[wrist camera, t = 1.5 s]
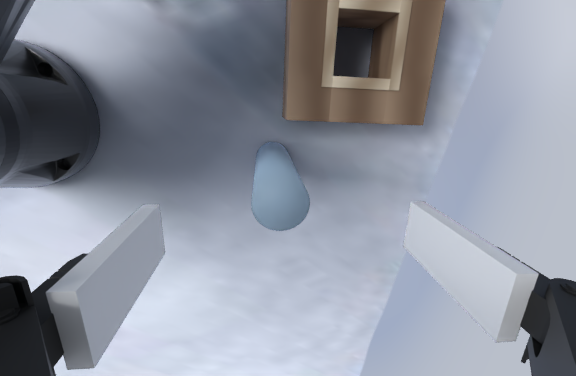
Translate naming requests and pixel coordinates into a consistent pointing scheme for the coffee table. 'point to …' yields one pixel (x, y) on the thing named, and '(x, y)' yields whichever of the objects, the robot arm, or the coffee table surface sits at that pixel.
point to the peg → (278, 189)
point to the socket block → (383, 62)
